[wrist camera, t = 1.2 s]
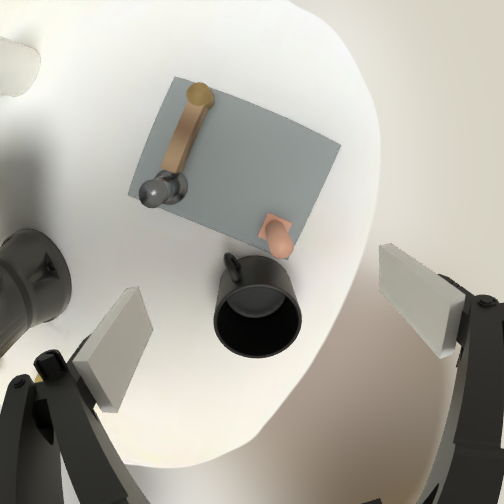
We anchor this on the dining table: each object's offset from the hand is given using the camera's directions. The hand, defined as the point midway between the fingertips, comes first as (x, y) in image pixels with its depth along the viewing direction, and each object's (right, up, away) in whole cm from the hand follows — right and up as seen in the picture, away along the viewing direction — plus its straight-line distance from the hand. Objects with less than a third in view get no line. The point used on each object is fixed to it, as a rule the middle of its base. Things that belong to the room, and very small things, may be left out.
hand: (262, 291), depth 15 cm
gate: (-8, +16, +16) cm, 24 cm away
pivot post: (-10, +10, +20) cm, 25 cm away
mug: (-1, -2, +24) cm, 24 cm away
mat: (-3, +12, +19) cm, 23 cm away
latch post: (+2, +5, +22) cm, 22 cm away
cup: (-36, +30, +13) cm, 49 cm away
